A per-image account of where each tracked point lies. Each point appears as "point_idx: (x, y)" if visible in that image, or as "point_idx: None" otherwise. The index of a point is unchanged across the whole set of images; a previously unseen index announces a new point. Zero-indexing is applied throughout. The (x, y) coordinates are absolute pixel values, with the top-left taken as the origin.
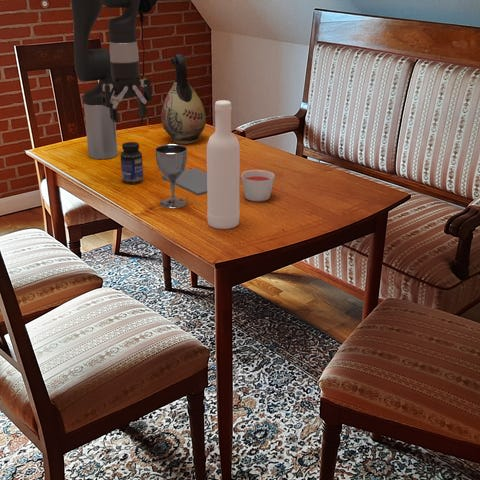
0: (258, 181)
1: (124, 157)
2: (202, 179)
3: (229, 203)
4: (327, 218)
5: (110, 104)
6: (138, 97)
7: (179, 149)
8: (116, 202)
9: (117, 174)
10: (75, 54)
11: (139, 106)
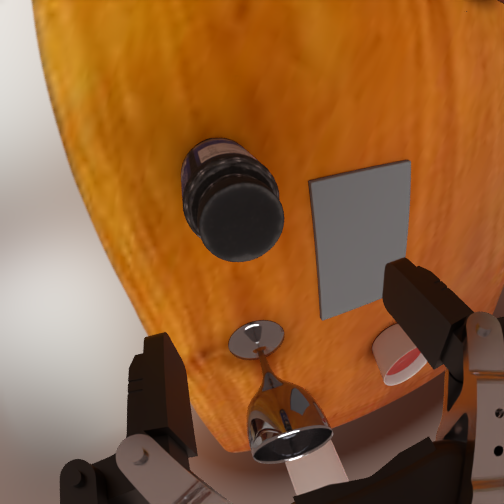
0: (389, 384)
1: (193, 231)
2: (377, 249)
3: None
4: (390, 393)
5: (143, 498)
6: (442, 432)
7: (324, 419)
8: (136, 309)
9: (187, 85)
10: None
11: (431, 322)
